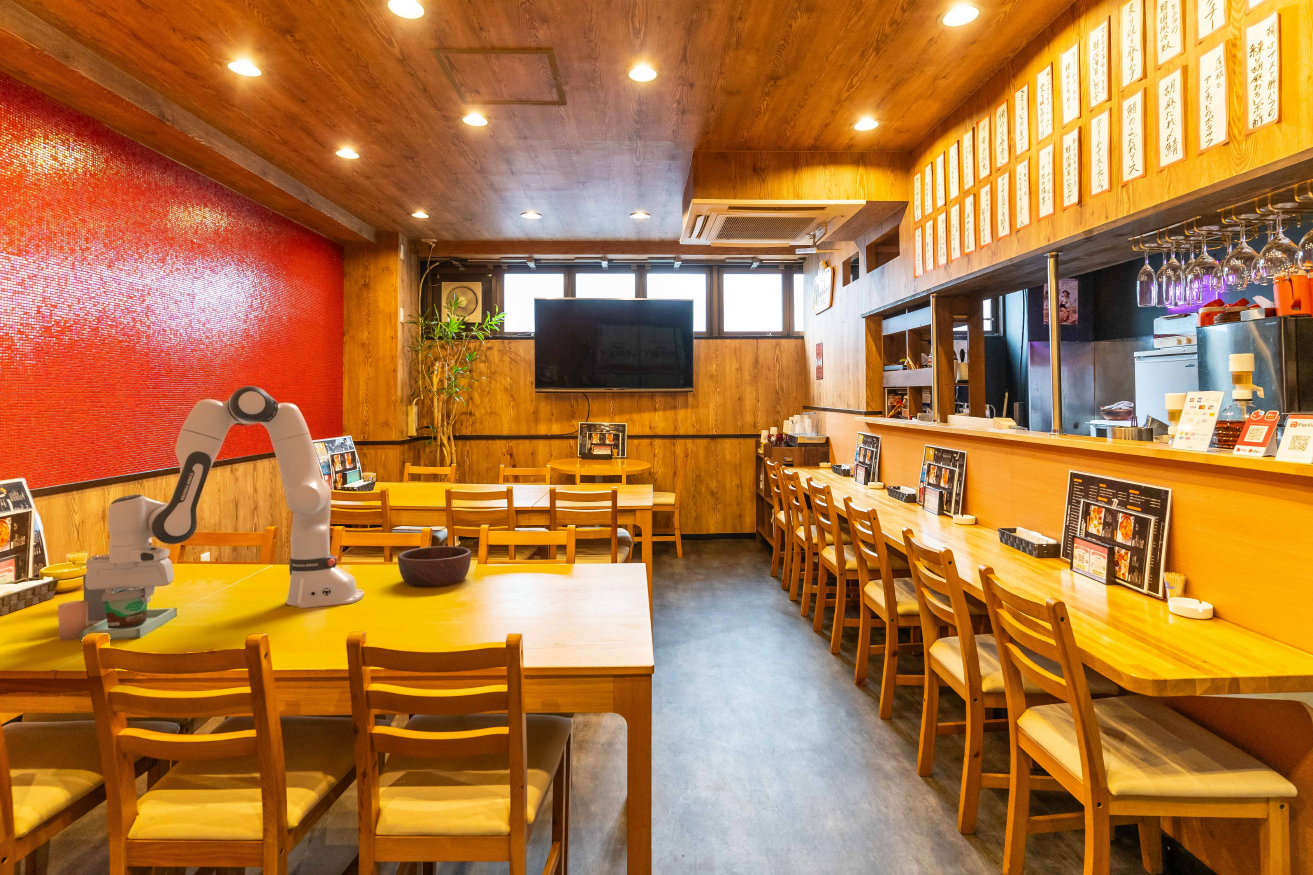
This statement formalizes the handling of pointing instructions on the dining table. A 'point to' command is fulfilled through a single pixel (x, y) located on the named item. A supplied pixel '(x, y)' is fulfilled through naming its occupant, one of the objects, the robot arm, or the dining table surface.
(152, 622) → the tray
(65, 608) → the canister
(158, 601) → the dining table surface
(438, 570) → the wooden bowl
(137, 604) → the food container
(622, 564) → the dining table surface
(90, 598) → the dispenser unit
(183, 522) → the robot arm
